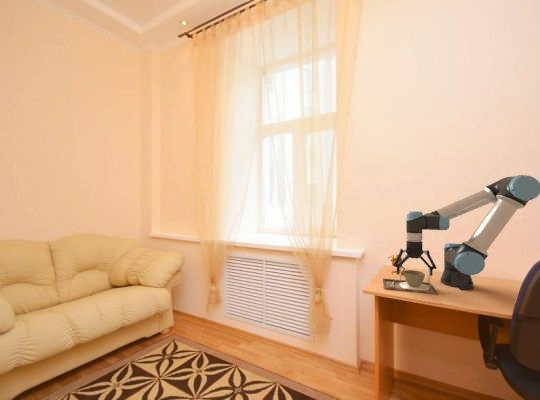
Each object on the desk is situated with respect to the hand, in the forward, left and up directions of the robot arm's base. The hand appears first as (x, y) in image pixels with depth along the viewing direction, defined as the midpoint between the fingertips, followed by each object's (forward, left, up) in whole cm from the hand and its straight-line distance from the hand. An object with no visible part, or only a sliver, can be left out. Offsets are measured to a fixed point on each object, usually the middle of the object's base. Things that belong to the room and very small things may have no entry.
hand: (414, 280), depth 147 cm
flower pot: (0, 0, -3) cm, 3 cm away
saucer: (0, 0, -4) cm, 4 cm away
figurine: (+5, -28, -5) cm, 29 cm away
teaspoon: (+10, -1, -4) cm, 11 cm away
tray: (+3, 0, -4) cm, 5 cm away
